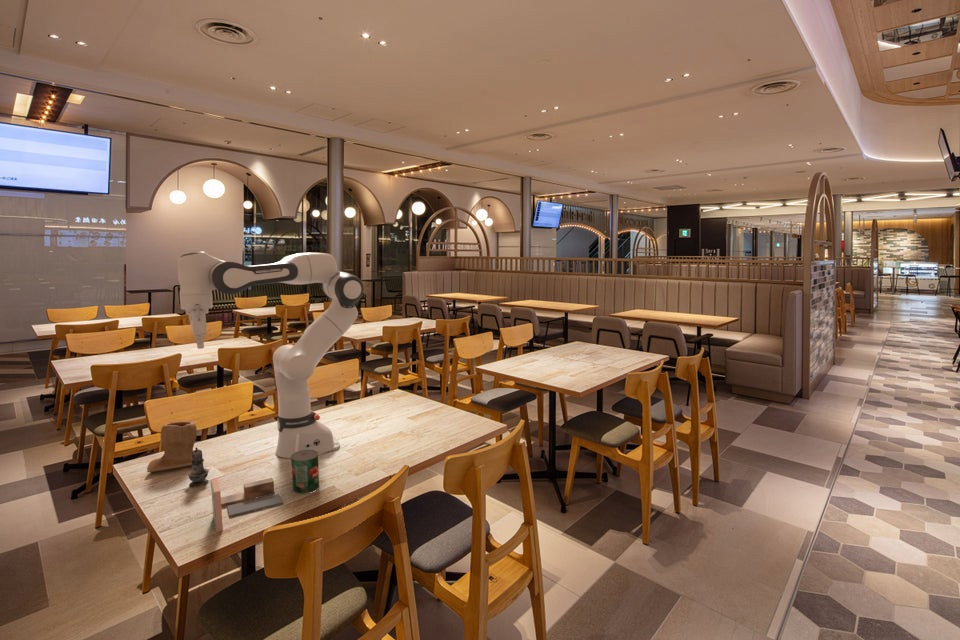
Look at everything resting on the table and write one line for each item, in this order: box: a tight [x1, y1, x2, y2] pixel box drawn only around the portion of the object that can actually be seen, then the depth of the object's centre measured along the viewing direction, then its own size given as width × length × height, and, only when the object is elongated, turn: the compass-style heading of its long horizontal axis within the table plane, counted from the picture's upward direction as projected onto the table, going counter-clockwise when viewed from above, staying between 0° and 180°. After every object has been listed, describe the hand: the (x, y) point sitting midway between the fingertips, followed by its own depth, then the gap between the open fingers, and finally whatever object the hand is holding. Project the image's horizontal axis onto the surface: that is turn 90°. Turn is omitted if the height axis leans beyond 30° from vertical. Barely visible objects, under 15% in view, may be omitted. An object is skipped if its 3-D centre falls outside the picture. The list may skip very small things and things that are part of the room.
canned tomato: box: [290, 450, 320, 495], centre depth 151 cm, size 8×8×11 cm
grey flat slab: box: [226, 493, 284, 518], centre depth 141 cm, size 14×6×1 cm, turn 123°
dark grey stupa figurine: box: [187, 447, 210, 488], centre depth 153 cm, size 6×6×12 cm
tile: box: [210, 477, 224, 532], centre depth 131 cm, size 2×9×11 cm, turn 33°
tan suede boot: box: [146, 420, 198, 473], centre depth 166 cm, size 15×12×15 cm
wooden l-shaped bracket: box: [221, 477, 275, 508], centre depth 145 cm, size 15×4×4 cm, turn 123°
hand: (199, 345), depth 156 cm, fingers open, 8 cm apart
